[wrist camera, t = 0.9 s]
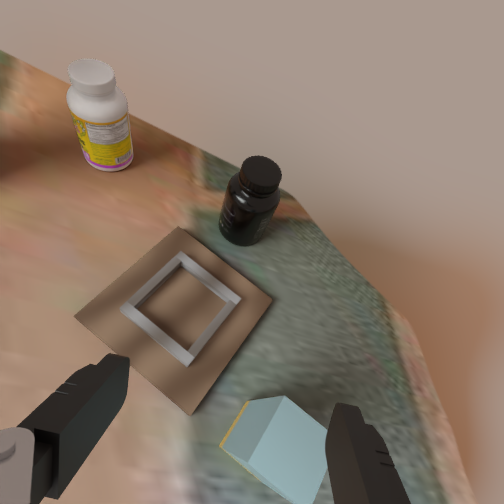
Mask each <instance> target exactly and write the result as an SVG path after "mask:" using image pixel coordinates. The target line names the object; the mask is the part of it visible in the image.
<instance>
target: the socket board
mask: <svg viewBox="0 0 504 504" xmlns="http://www.w3.org/2000/svg"><path fill="white" fill-rule="evenodd" d="M272 300H273V299H271V298H270V297H269V296H268V295H266V294H265V293H264V292H262V291H261V290H260V289H259V288H257V287H256V286H255V285H253V284H252V283H251V282H250V281H248V280H247V279H246V278H244V277H243V276H242V275H241V274H239V273H238V272H237V271H235V270H234V269H233V268H232V267H230V266H229V265H228V264H226V263H225V262H224V261H223V260H221V259H220V258H219V257H217V256H216V255H215V254H214V253H212V252H211V251H210V250H208V249H207V248H206V247H205V246H203V245H202V244H201V243H199V242H198V241H197V240H196V239H194V238H193V237H192V236H190V235H189V234H188V233H187V232H185V231H184V230H183V229H181V228H180V227H179V226H178V227H177V228H175V229H174V230H173V231H172V232H171V233H170V234H168V235H167V236H166V237H165V238H164V239H163V240H161V241H160V242H159V243H158V244H157V245H156V246H154V247H153V248H152V249H151V250H150V251H149V252H148V253H146V254H145V255H144V256H143V257H142V258H141V259H139V260H138V261H137V262H136V263H135V264H134V265H132V266H131V267H130V268H129V269H128V270H127V271H125V272H124V273H123V274H122V275H121V276H120V277H119V278H117V279H116V280H115V281H114V282H113V283H112V284H110V285H109V286H108V287H107V288H106V289H105V290H103V291H102V292H101V293H100V294H99V295H98V296H96V297H95V298H94V299H93V300H92V301H91V302H90V303H88V304H87V305H86V306H85V307H84V308H83V309H81V310H80V311H79V312H78V313H77V314H76V315H74V317H75V318H76V319H77V320H78V321H79V322H80V323H82V324H83V325H84V326H85V327H86V328H87V329H89V330H90V331H91V332H92V333H93V334H94V335H96V336H97V337H98V338H99V339H100V340H101V341H103V342H104V343H105V344H106V345H107V346H108V347H110V348H111V349H112V350H113V351H114V352H115V353H117V354H118V355H121V356H125V357H129V358H130V365H131V366H132V367H133V368H134V369H135V370H136V371H138V372H139V373H140V374H141V375H142V376H143V377H145V378H146V379H147V380H148V381H149V382H150V383H152V384H153V385H154V386H155V387H156V388H157V389H159V390H160V391H161V392H162V393H163V394H164V395H166V396H167V397H168V398H169V399H170V400H171V401H173V402H174V403H175V404H176V405H177V406H178V407H180V408H181V409H182V410H183V411H184V412H185V413H187V414H188V415H189V416H191V414H192V413H193V411H194V410H195V409H196V407H197V406H198V404H199V403H200V402H201V400H202V399H203V397H204V396H205V395H206V393H207V392H208V390H209V389H210V387H211V386H212V385H213V383H214V382H215V380H216V379H217V378H218V376H219V375H220V373H221V372H222V371H223V369H224V368H225V366H226V365H227V364H228V362H229V361H230V359H231V358H232V357H233V355H234V354H235V352H236V351H237V349H238V348H239V347H240V345H241V344H242V342H243V341H244V340H245V338H246V337H247V335H248V334H249V333H250V331H251V330H252V328H253V327H254V326H255V324H256V323H257V321H258V320H259V319H260V317H261V316H262V314H263V313H264V311H265V310H266V309H267V307H268V306H269V304H270V303H271V302H272Z"/></svg>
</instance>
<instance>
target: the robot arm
mask: <svg viewBox="0 0 504 504" xmlns="http://www.w3.org/2000/svg"><path fill="white" fill-rule="evenodd" d="M129 367H130V358H129V357H125V356H121V355H116V354H111V353H109V354H107V355H106V356H105V357H104V358H103V359H102V360H101V361H100V362H99V363H98V364H97V365H93V364H89V365H87V366H85V367H84V368H82V369H80V370H78V371H76V372H75V373H74V374H73V375H71V376H70V377H69V378H68V379H67V380H66V381H65V383H64V384H62V385H61V386H60V387H59V388H58V389H56V391H55V393H52V394H51V395H50V396H49V397H48V398H47V399H46V400H45V401H44V402H43V403H41V404H40V405H39V406H38V407H37V408H36V409H35V410H34V411H33V412H32V413H31V414H30V415H29V416H28V417H26V418H25V419H24V420H23V421H22V422H21V423H20V424H19V425H18V426H17V427H14V428H7V429H3V430H0V504H39V503H40V502H41V501H42V499H43V498H44V497H49V498H53V499H57V500H58V499H59V497H60V496H61V494H62V493H63V491H64V490H65V489H66V487H67V486H68V484H69V483H70V481H71V480H72V478H73V477H74V476H75V474H76V473H77V471H78V470H79V468H80V467H81V465H82V464H83V463H84V461H85V460H86V458H87V457H88V455H89V454H90V452H91V451H92V449H93V448H94V447H95V445H96V444H97V442H98V441H99V439H100V438H101V436H102V435H103V434H104V432H105V431H106V429H107V428H108V426H109V425H110V423H111V422H112V421H113V419H114V418H115V416H116V415H117V413H118V412H119V410H120V409H121V407H122V405H123V403H124V401H125V398H126V395H127V388H128V378H129ZM325 455H326V460H327V466H328V471H329V477H330V482H331V487H332V493H333V498H334V503H335V504H411V503H410V501H409V498H408V496H407V494H406V491H405V489H404V487H403V484H402V482H401V479H400V477H399V475H398V472H397V470H396V469H395V468H394V466H395V465H394V463H393V461H392V458H391V456H389V451H388V449H387V447H386V444H385V442H384V440H383V438H382V437H381V436H380V434H379V433H378V432H377V431H376V429H375V428H374V427H373V426H372V425H368V424H365V422H364V419H363V417H362V414H361V411H360V409H359V408H358V407H357V406H352V405H347V404H343V403H336V405H335V408H334V411H333V414H332V418H331V421H330V424H329V428H328V431H327V434H326V440H325Z"/></svg>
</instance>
